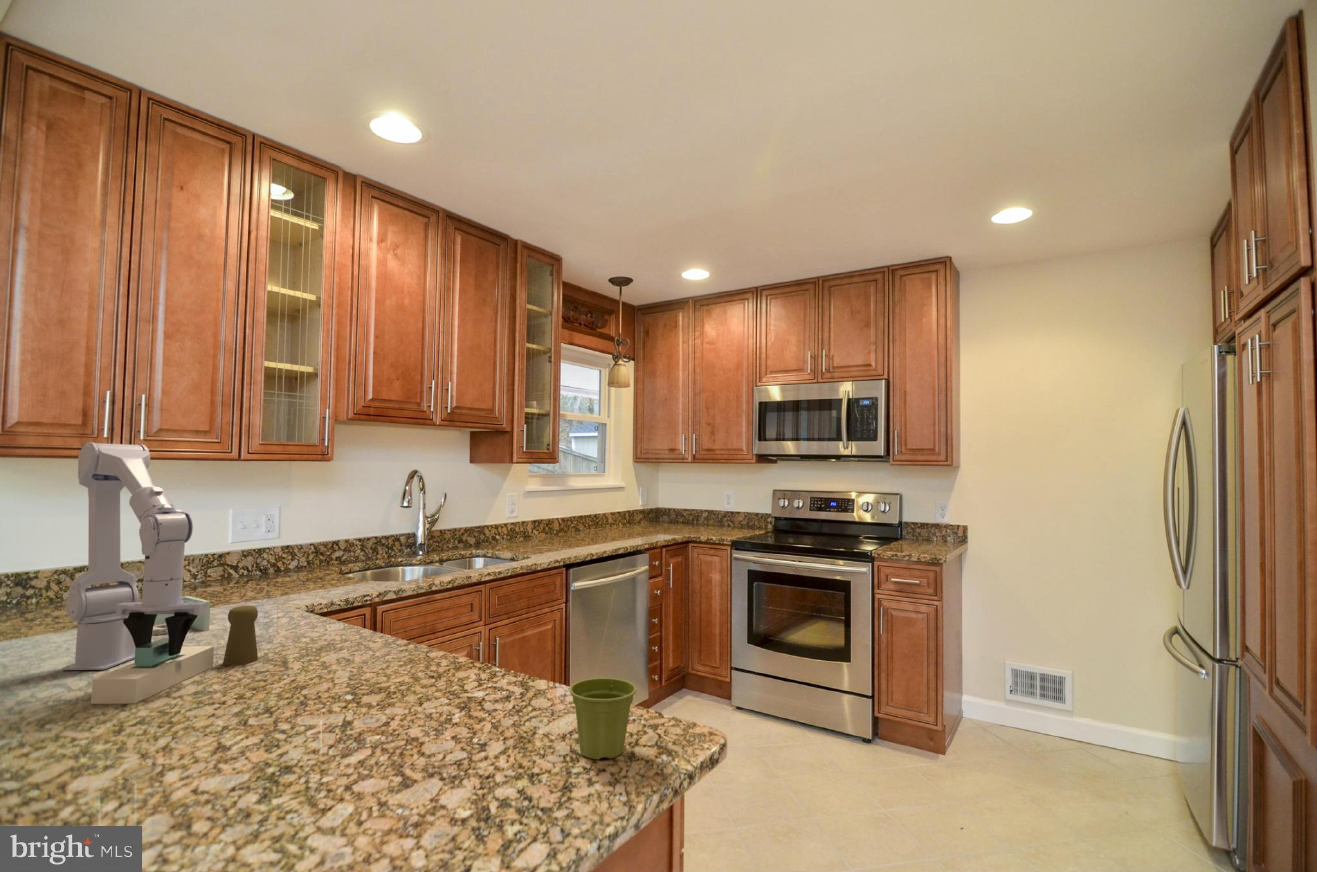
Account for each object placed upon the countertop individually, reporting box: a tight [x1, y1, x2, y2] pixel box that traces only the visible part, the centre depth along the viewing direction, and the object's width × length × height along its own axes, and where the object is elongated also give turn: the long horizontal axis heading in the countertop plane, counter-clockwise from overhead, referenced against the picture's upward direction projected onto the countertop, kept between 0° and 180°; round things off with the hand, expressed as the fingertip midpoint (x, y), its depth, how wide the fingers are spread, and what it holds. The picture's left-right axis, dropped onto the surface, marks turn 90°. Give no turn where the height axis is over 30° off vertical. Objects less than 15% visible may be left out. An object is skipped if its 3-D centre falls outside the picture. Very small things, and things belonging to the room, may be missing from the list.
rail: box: [90, 645, 215, 705], centre depth 115 cm, size 20×7×4 cm, turn 3°
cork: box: [222, 605, 259, 666], centre depth 129 cm, size 6×6×11 cm
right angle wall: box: [152, 595, 211, 636], centre depth 152 cm, size 12×12×8 cm
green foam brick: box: [134, 637, 180, 668], centre depth 114 cm, size 7×3×6 cm, turn 3°
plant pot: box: [569, 677, 637, 760], centre depth 89 cm, size 9×9×9 cm
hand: (159, 654), depth 115 cm, fingers open, 5 cm apart
